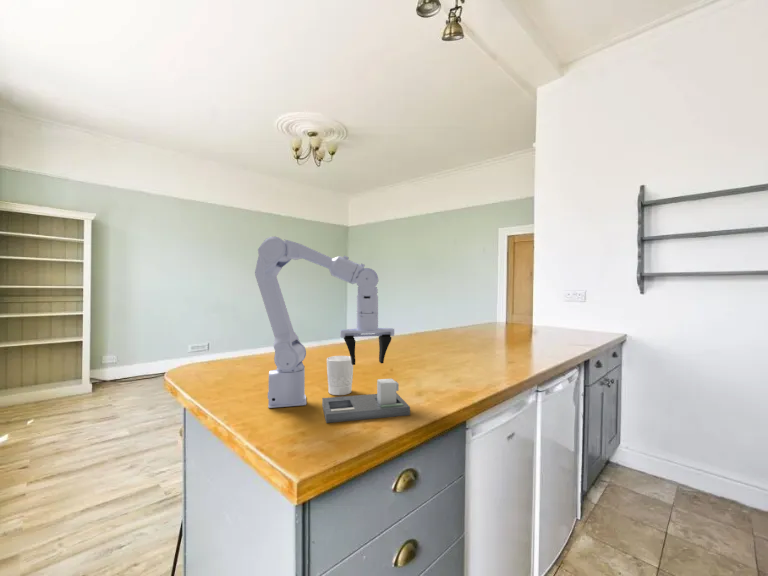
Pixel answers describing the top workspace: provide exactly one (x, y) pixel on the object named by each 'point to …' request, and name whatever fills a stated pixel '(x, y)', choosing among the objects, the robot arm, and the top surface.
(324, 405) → the grey socket base
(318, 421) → the top surface
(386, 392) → the plug
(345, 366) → the white cup
